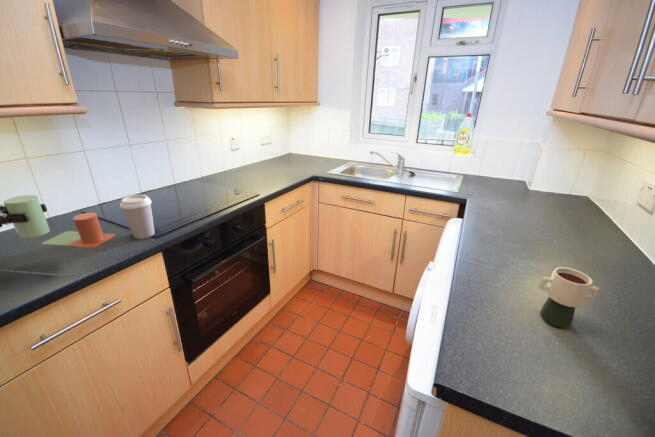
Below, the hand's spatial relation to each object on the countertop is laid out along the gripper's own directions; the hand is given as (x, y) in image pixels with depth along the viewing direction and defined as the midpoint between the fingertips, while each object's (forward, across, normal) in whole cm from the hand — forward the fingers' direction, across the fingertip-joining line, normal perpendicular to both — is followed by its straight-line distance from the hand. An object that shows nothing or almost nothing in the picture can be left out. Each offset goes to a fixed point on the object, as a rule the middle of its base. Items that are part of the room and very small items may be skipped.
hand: (36, 212), depth 80 cm
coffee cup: (+16, +21, +19) cm, 32 cm away
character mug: (+128, -43, +17) cm, 136 cm away
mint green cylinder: (-2, 0, +6) cm, 6 cm away
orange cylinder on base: (0, +19, +18) cm, 27 cm away
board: (-5, +21, +19) cm, 29 cm away
